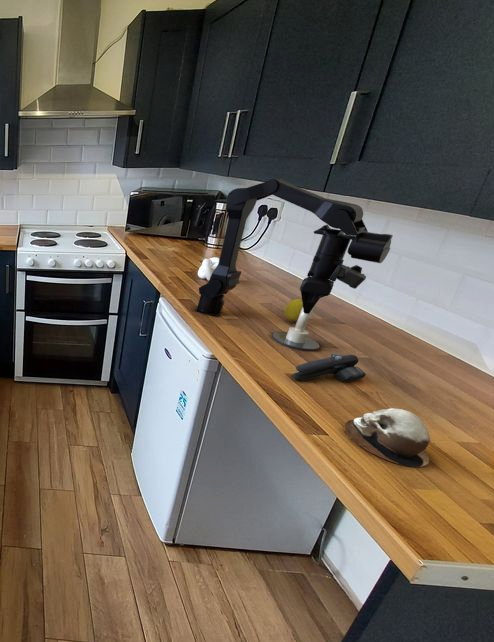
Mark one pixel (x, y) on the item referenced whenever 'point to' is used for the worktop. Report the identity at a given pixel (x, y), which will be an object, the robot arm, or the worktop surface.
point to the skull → (392, 436)
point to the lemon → (293, 309)
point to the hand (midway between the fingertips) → (308, 309)
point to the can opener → (331, 368)
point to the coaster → (307, 346)
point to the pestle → (299, 328)
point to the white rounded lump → (208, 268)
